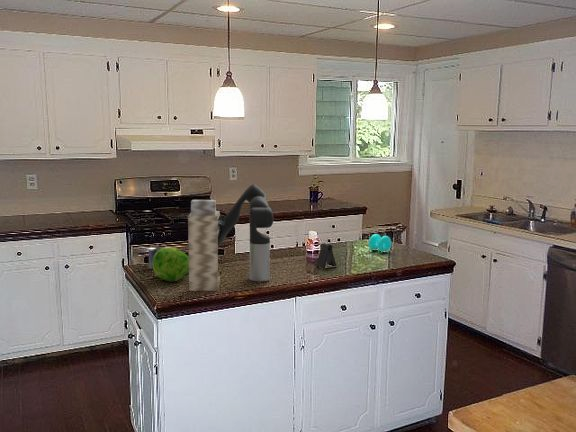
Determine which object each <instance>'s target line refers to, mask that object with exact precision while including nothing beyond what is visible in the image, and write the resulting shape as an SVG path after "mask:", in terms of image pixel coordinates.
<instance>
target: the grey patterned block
mask: <svg viewBox="0 0 576 432" xmlns="http://www.w3.org/2000/svg"><path fill="white" fill-rule="evenodd" d="M216 211H217V200H216V199H192V200H191V201H190V213H191V215H205V216H215V215H216Z"/></svg>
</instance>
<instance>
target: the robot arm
mask: <svg viewBox="0 0 576 432" xmlns="http://www.w3.org/2000/svg"><path fill="white" fill-rule="evenodd" d="M245 201H247V202H248V203H249V206H248V207H249V212H248V213H249V214H248V215H249V217H248V218H249V220H248V221H249V280H250V281H252V282H267V281H270V280H271V279H270V278H271V277H270V275H271V274H270V273H271V260H270V259H271V257H270V256H271V246H270V245H271V238H270V236H269V235H267V234H264V233H261V232H260V231H259V230H257V229H268V228H270V227H272V225H273V223H274V219H275V218H274V212H273V210H272V208H271V207H270V206H269V205H270V204H269V202H268V201H267V194H266V193H265V192H264V191H263V190H262V189H261V188H260V187H259V186H258V185H256V184H254V183H253V184H251V185H250V186H248V187H247V188H246V190H245V191H244V192H243V193H242V194H241V195H240V197H239V198H238V199H237V201H236V202H235V203H234V205H233V206H232V207H231V209H230V210H229V211H228V213H227V214H226V215H225V216H222V215H221V214H220V216H219V218H218V248H219V247H221V246H222V244H223V242H224V241H225V239H226V237H227V236H228V234H229V232H230V231H231V230H232V229H233V228H234V227H235V226H236V225H237V223H238V222H239V220H240V215H241V210H242V206H243V205H244V203H245Z"/></svg>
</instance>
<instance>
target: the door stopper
mask: <svg viewBox="0 0 576 432" xmlns="http://www.w3.org/2000/svg"><path fill="white" fill-rule="evenodd" d="M327 264H329V265H332V266H337V263H336V259H335V256H334V252H333V245H332V244H329V243H326V242H322V243H321V244H320V251H319V254H318V257H317V260H316V264H315V267H316V266H318V267H321V268H325V266H326V265H327ZM318 267H317V268H318Z"/></svg>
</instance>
